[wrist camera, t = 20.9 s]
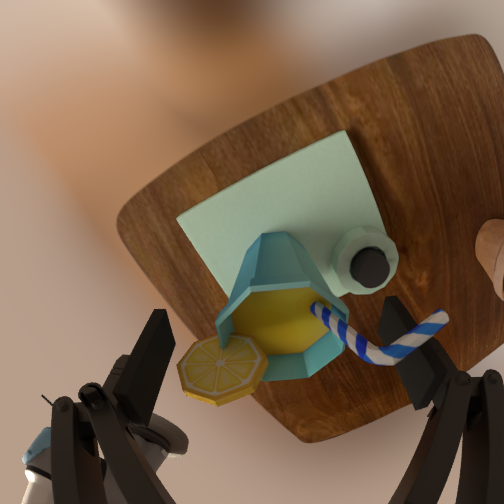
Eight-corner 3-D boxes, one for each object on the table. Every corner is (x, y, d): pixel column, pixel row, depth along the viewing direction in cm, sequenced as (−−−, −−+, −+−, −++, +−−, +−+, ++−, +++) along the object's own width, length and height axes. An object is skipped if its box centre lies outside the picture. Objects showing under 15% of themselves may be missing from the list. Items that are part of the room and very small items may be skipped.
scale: (254, 326, 29) (253, 345, 26) (179, 214, 24) (169, 225, 21) (392, 262, 25) (404, 276, 23) (341, 130, 21) (352, 129, 18)
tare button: (357, 284, 23) (363, 294, 22) (347, 257, 22) (353, 266, 21) (386, 269, 23) (393, 278, 21) (377, 242, 22) (385, 250, 20)
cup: (339, 178, 21) (449, 252, 7) (369, 255, 24) (453, 374, 10) (194, 253, 24) (128, 385, 10) (238, 316, 27) (221, 455, 13)
